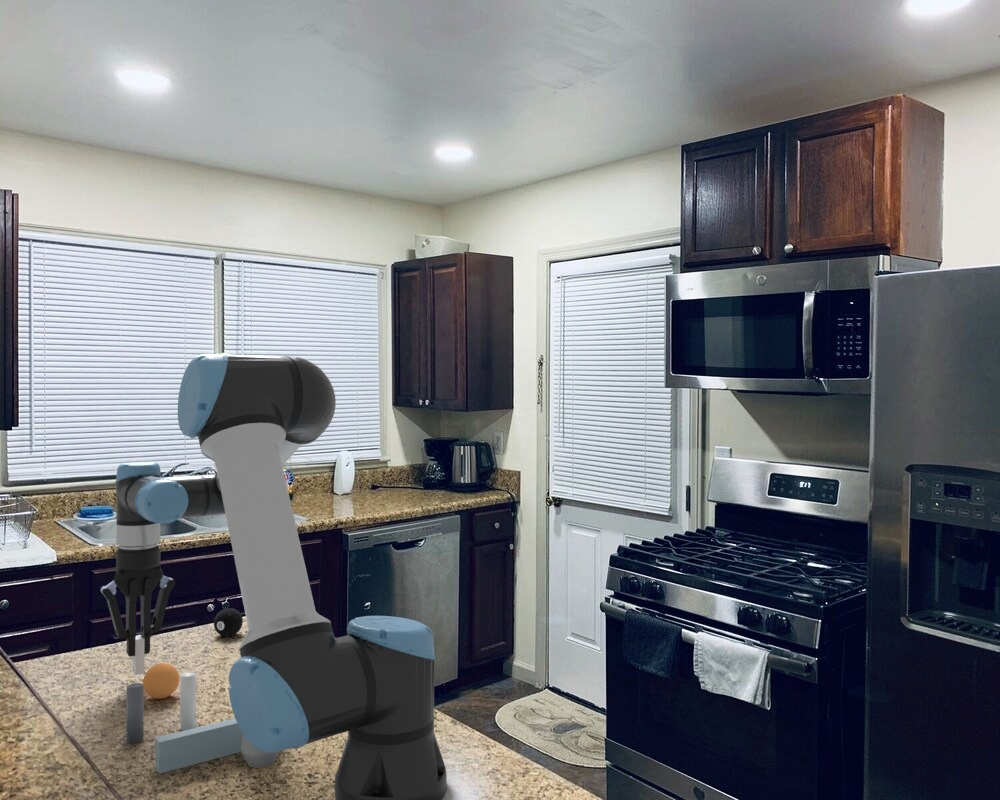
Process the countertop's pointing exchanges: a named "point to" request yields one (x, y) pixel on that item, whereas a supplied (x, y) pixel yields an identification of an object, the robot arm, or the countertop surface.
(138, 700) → the charcoal pin
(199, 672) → the countertop surface
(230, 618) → the billiard ball
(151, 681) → the ball
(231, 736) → the board
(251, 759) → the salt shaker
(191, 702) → the white pin
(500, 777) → the countertop surface
